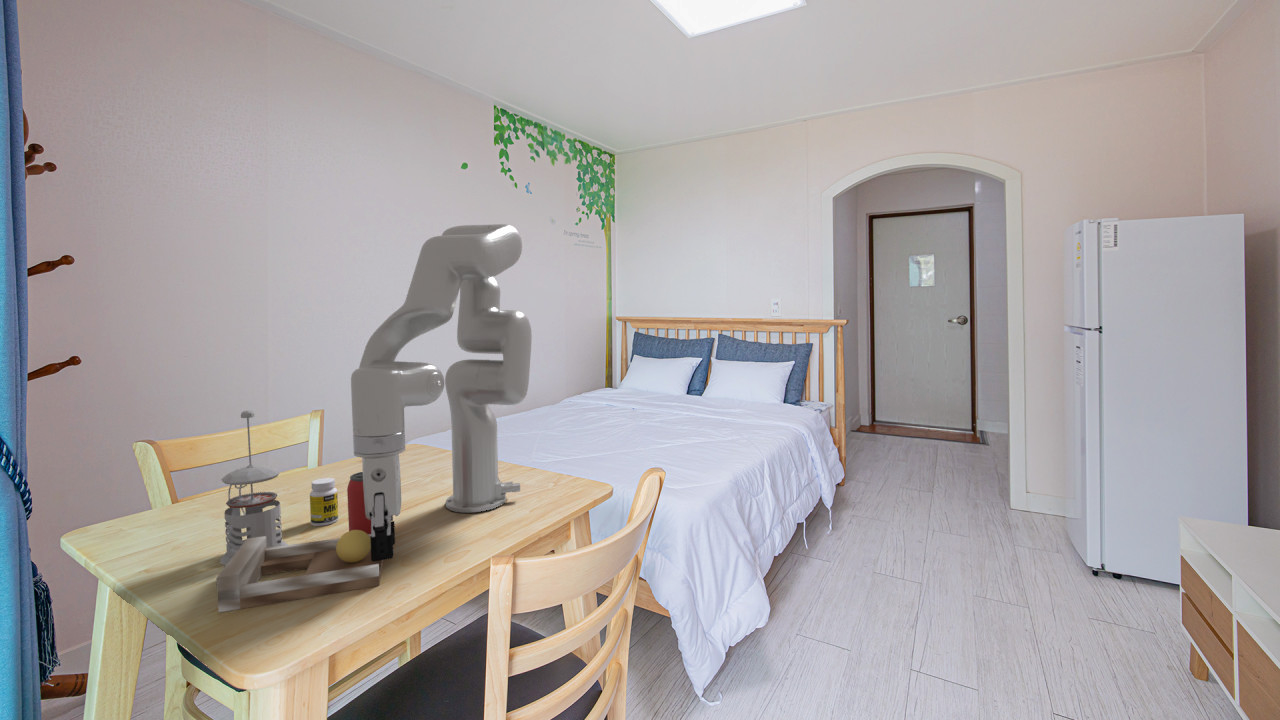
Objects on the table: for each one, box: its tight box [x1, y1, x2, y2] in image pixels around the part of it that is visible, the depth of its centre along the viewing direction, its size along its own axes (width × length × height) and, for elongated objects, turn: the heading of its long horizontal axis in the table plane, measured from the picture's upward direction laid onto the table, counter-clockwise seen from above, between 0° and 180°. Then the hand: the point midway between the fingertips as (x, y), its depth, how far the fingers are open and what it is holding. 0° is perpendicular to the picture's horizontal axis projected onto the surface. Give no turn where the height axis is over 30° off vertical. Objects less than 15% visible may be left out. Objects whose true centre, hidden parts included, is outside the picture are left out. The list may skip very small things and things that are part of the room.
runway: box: [216, 534, 384, 613], centre depth 84 cm, size 20×14×5 cm
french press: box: [219, 409, 289, 566], centre depth 92 cm, size 10×12×25 cm
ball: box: [336, 530, 371, 563], centre depth 86 cm, size 5×5×5 cm
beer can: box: [346, 471, 375, 534], centre depth 98 cm, size 7×7×12 cm
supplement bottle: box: [309, 477, 339, 527], centre depth 106 cm, size 5×5×8 cm
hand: (383, 551), depth 88 cm, fingers open, 4 cm apart
